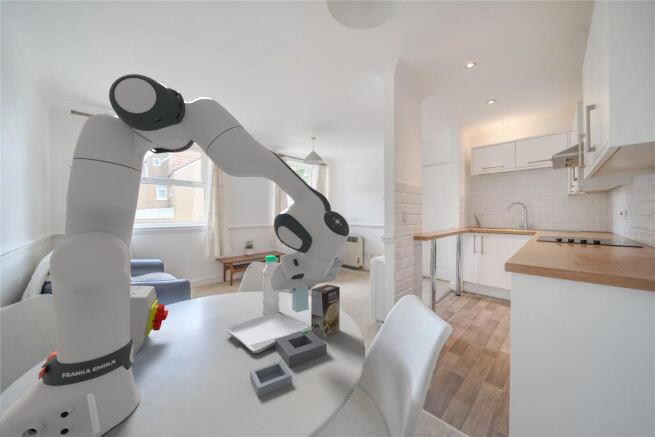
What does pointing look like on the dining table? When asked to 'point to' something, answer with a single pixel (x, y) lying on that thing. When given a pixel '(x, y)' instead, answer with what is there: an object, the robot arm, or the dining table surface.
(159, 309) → the electrical switch box
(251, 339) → the salad plate
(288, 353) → the block
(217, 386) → the dining table surface
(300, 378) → the dining table surface
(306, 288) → the plug
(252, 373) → the grey storage bin
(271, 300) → the water bottle
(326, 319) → the coffee box
